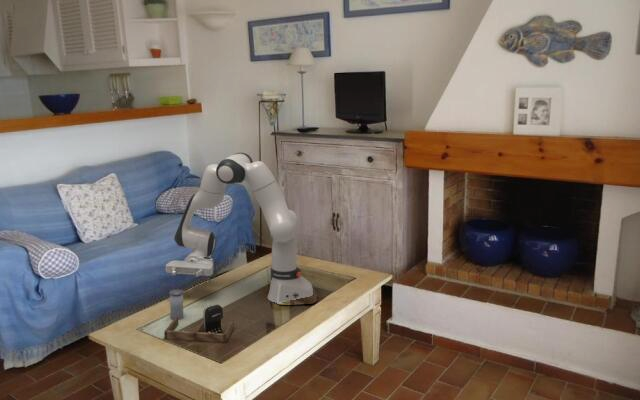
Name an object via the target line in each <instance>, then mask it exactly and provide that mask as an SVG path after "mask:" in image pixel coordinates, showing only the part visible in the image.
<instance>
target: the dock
mask: <svg viewBox="0 0 640 400" xmlns="http://www.w3.org/2000/svg"><path fill="white" fill-rule="evenodd" d="M178 325H179V320H178V317H175V318H174V320H172V321H171V322H170V323H169V325H168V327H166V328H165V330H164V331H163V332H164V333H163V335H164V340H172V341H173V340H175V341H189V342H191V341H192V342H205V343H206V342H208V343H209V342H210V343H227V342H228V339H229V338H230V335H231V333H232V331H233V329H234V328H235V326H234V325H235V324H234V319H230V321H229V323H228V325H227V327H226V328H225V330H224V332H223V333H220V334H219V333H211V332H209V333H204V317H203V318H202V320H201V322H200V323H199V324H198V325H197V328H196V329H195V331H185V330H181V331H180V330H179V329H178V330H175V329H176V328H178Z"/></svg>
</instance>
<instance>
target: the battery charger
mask: <svg viewBox="0 0 640 400" xmlns="http://www.w3.org/2000/svg"><path fill="white" fill-rule="evenodd" d="M203 318H204V330H203V333H209V332H211V333H219V334H222V332H223V330H222V324H221V323H222V319H223V318H224V310H223V307H222V306H221V305H220V304H218V303H214V304H211V305H208V306H207V305H206V306H205V307H204V309H203Z"/></svg>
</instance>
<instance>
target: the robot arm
mask: <svg viewBox="0 0 640 400" xmlns="http://www.w3.org/2000/svg"><path fill="white" fill-rule="evenodd" d="M242 182H246V184H248V186H249V187H250V189H251V191H252V193H253V195H254V197H255V199H256V201H257V203H258V204H259V207H260V208H261V209H260V210H261V211H262V215H263V216H264V219H265V222H266V225H267V227H268V230H269V234H270V236H271V238H272V246H271V267H270V270H269V271H270V272H269V277H270V285H269V290H268V294H267V299H268V301H270V302H272V303H274V302H275V303H274V304H276V303H277V304H284V303H282V302H286V301H290V300H296V299H300V298H305V297H310V296H312V295H313V291H314V288H313V285H312V282H311V281H309V280H308V279H306V278H305V277H303V276H302V269H301V267H297V266H298V265H297V262H298V260H297V259H298V257H297V255H298V243H299V241H298V240H299V226H300V225H299V222H300V220H299V217H298V214H297V213H296V212H295V211H294V210H292V209H289V207H288V204H287V201H286V197H285V196H284V194H283V193H284V192H282V190H281V188H280V185H279V183H278V182H277V180H276V177H275V176H274V175H273V173H272V171H271V170H270V169H269V167H268V166H267V164H266V163H265V162H263V161H260V160H257V161H253V159H252V157H251V155H249V154H247V153H246V152H237V153H234V154H232V155H229V156H227V157H226V158H224V159H222V160H221V161H220V162H219V163H218V164H217V163H212V164H209V165H207V166H206V167H205V169H204V172H203V175H202V178H201V182H200V186H199V188H198V191H197V192H196V193H194V194H192V195H191V197H190V198H189V200H188V201H187V204H186V206H185V209H184V211H183V214H182V217H181V220H180V222H179V225H178V227H177V229H176V230H175V233H174V237H173V239H174V242H175V244H176V245H177V246H178V247H183V248H189V249H192V251H191V252H190V253H189V254H188V255H187V256H186V257H185V258H184V260H171V261H169V262H168V263H166V264H165V272H166V273H167V274H171V276H176V275H190V276H191V275H192V276H193V277H194V278H198V277H201V276H205V277H206V276H207V277H210V276H212V275H213V273H214V259H213V258H212V257H211V256H212V255H213V254H214V252H215V249H216V246H217V238H216V236H215V234H214V232H212V231H210V230H206V229H203V228H198V227H194V226H192V225H191V223H192V219H193V217H194V214H195V211H199V210H205V209H213V208H215V207H217V206H219V205H220V204H222V202H223V200H224V199H225V195H226V188H227V185H232V184H241V183H242ZM277 304H276V305H277Z"/></svg>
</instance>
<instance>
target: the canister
mask: <svg viewBox="0 0 640 400" xmlns="http://www.w3.org/2000/svg"><path fill="white" fill-rule="evenodd" d="M168 293H169V300H170V301H169V302H170V303H169V304H170V306H169V307H170V310H169V311H170V319H171V320H172V321H173V320H174V318H175V317H178V321H179V320H183V318H184V290H183V289H179V288H177V289H172V290H170V291H169V292H168Z"/></svg>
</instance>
